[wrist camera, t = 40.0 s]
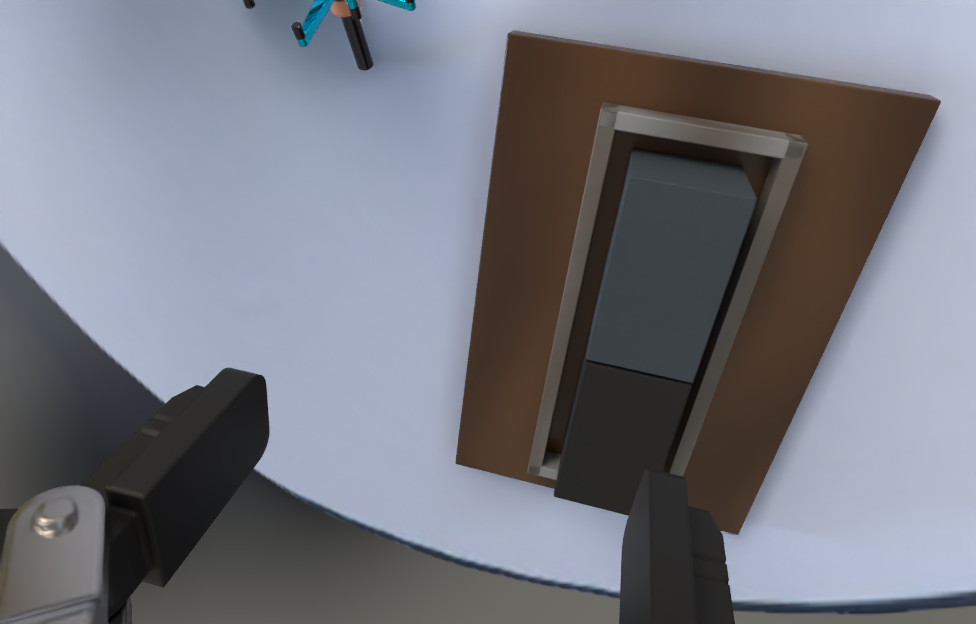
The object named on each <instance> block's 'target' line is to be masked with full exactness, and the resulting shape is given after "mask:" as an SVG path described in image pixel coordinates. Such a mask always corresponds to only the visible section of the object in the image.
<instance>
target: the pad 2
mask: <svg viewBox="0 0 976 624" xmlns="http://www.w3.org/2000/svg"><path fill="white" fill-rule="evenodd" d="M591 325H592V322H591ZM590 331H591V327H590ZM590 331H589V335H588V340H587V344H586V348H585V352H584V357H583V361H582V365H581V369H580V374H579V378H578V382H577V387H576V391H575V395H574V399H573V404H572V408H571V412H570V417H569V421H568V425H567V429H566V434H565V438H564V442H563V447H562V453H561V458H560V464H559V469H558V474H557V480H556V485H555V491H554V496H555V497H558V498H562V499H566V500H570V501H574V502H578V503H581V504H585V505H589V506H593V507H597V508H601V509H605V510H609V511H613V512H617V513H621V514H625V515H629V514H630V511H631V508H632V505H633V502H634V499H635V497H636V494H637V491H638V488H639V485H640V482H641V479H642V476H643V473H644V471H645V470H646V468H649V469H653V470H657V471H661V472H662V470H663V467H664V464H665V462H666V459H667V456H668V453H669V450H670V447H671V444H672V442H673V439H674V436H675V433H676V430H677V427H678V424H679V422H680V419H681V416H682V413H683V410H684V407H685V404H686V402H687V399H688V396H689V393H690V390H691V383H690V382H686V381H681V380H677V379H672V378H668V377H663V376H659V375H654V374H650V373H645V372H641V371H636V370H632V369H627V368H623V367H618V366H614V365H609V364H605V363H600V362H596V361H591V360H587V359H586V355H587V349H588V343H589V337H590Z"/></svg>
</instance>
